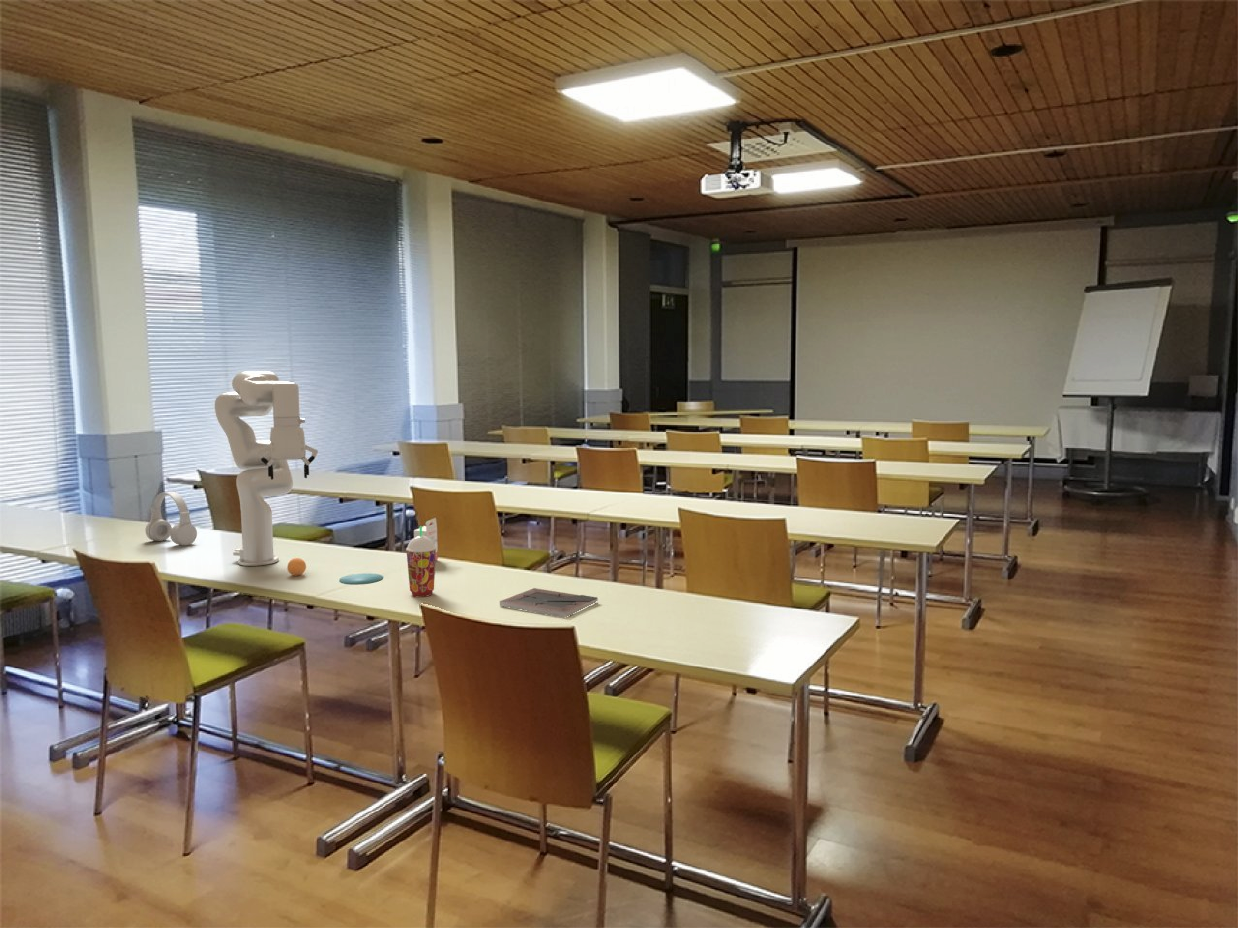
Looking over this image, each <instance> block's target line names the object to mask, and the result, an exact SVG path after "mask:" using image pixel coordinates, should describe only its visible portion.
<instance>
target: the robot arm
mask: <svg viewBox="0 0 1238 928" xmlns="http://www.w3.org/2000/svg"><path fill="white" fill-rule="evenodd" d="M231 386H232V388H233V390H234V391H229V392H224V393H221V394H219V395H218V396H217V397H215V400H214V411H215V417H216V420H217V421H218V424H219V425H220V427H221V428H222V430H223V432H224V433H225V436H226V438H227V440H228V444H229V447H230V451H231V454H232V457H233V458H232V459H233V461H234V463H235V466H236V467H237V468H238V469H240V470H243V471H241V472H240V473H238V474H237V477H236V480H235V481H236V489H237V493H238V499H239V504H240V505H239V508H240V519H241V520H240V521H241V523H240V524H241V542H242V543H241V546H242V548H236V549H234V550H233V553H232V555H233V556H238V557H239V559H237V564H238V565H240V566H245V567H246V566H247V567H248V566H249V567H251V566H252V567H258V566H266V565H272V564H274V563H277V562H279V556H278V555H275V554H274V538H273V537H274V535H273V534H274V533H273V514H272V513H273V511H272V508H271V505H269V504H268V503H267V501H265V499H264V498H267V497H273V496H283V495H287V494H289V493H290V492H291V491H292V489H293V486H294V482H293V476H292V473H291V469H290V466H289V463H288V461H293V460H301V461H302V462H303V463H304V465H303V477H304V478H305V479H307V478H308V476H310V464H312V462H313V461H314V460H315V459H316V456H317V455H318V453H319V450H317V449H315V448H313V447H312V446H310V445H306V439H305V431H304V428H303V426H301V424H305V423H306V420H305V418H301V417H300V414H301V413H300V389H299V385H298V384H297V383H296V382H293V381H291V382H290V381H287V380H285V381H284V380H281V381H280V379H279V376H278V375H277V374H276V373H274V372H272V371H242V372H239V373H237V374H236V375H234V377H233V379H232V381H231ZM271 411H272V414H273V415H272V417H273V426H272V427H270V432H269V433H270V434H269V440H258V439H257V438H256V435H255V431H254V429H253V428H252V427H251V426H250V425H249V424H248V422H246V421H244V419H241V418H242V417H263V416H268V414H270V412H271ZM240 417H241V418H240ZM306 451H308V452H309V453H310V452H311V455H310V456H309V458H307V457H306V454H307V453H306Z"/></svg>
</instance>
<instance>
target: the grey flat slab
mask: <svg viewBox="0 0 1238 928" xmlns="http://www.w3.org/2000/svg"><path fill="white" fill-rule="evenodd" d="M598 600H599V599H598V596H596V597H595V596H590V595H586V594H585V595H584V594H581V595H580V594H575V593H568V592H567V593H566V592H560V591H553V590H548V589H542V588H535V587H533V588H531V589H528V590H526V591H523V592H520V593H517V594H515V595H513V596H510V597H507V598H504V599H502V600H499V607H500V606H504V607H503V608H505V607H510V608H516V609H522V610H527V611H526V612H528V611H531V612H530V613H534V612H536V613H535V614H539V613H540V615H545V614H547V615H546V616H551V615H552V617H557V616H558V617H559V618H562V617H567V616H569V615H571V614H573V613H575V612H577V611H579V610H581V609H583V608H585V607H587V606H589V605H591V604H593V603H595V602H596V601H598ZM598 602H599V601H598ZM510 608H509V609H510ZM516 609H515V610H516ZM522 610H521V611H522ZM573 615H574V614H573ZM571 616H572V615H571ZM569 617H570V616H569ZM567 618H568V617H567Z"/></svg>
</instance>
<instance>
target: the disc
mask: <svg viewBox="0 0 1238 928" xmlns="http://www.w3.org/2000/svg"><path fill="white" fill-rule="evenodd" d="M383 578H384V576H383V575H382V574H378V573H370V572H369V573H367V572H366V573H355V574H354V573H353V574H348V575H345V576H342V577H341V578H339V580H338V581H339V582H340V583H342V584H345V585H366V584H367V585H368V584H372V583H376V582H380V581H381V580H383Z"/></svg>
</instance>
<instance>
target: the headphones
mask: <svg viewBox="0 0 1238 928" xmlns="http://www.w3.org/2000/svg"><path fill="white" fill-rule="evenodd" d="M166 496H169V497H171V499H172V500H173V501H174V502H175V504H176V507H177V509H178V514H179V515H178V516H179V523H176V524H175V525H174V526H173V527H172V525H171V522H168V520H165V519H163V517H162V516H163V515H162V507H161V506H162V504H163V501H164V499H165V497H166ZM150 513H151V514H150V520H149V522H148V523H147V525H146V527H145V535H146V537H147V538H148V539H149V540H151V541H154V542H163V540H164V541H166V540H167V539H168V538H170V539H171V541H172V543H175V545H179V546H182V547H185V546H187V545H188V546H190V545H192V544H194V542H195V541H196V539H197V536H198V532H197V531H198V530H197V528H196V526H194V525H193V523H192V522H191V518H190V515H191V512H190V511H189V509H188V506H187V504H186V501H185V500H184V498H183V496H182V495H181V494H179V493H178V492H176V491H165V492H160V493H159V494H157V495H156V496H155V498H154V499H153V503H152V505H151V508H150Z"/></svg>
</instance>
